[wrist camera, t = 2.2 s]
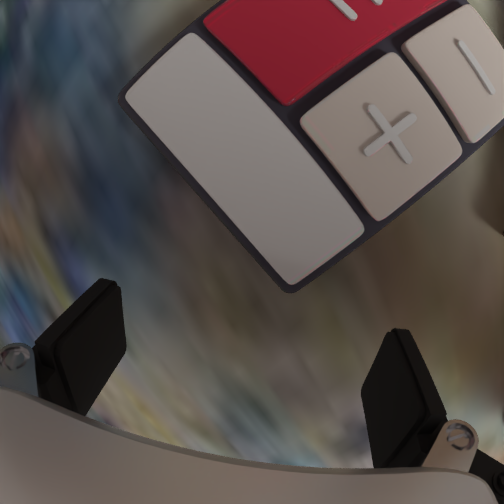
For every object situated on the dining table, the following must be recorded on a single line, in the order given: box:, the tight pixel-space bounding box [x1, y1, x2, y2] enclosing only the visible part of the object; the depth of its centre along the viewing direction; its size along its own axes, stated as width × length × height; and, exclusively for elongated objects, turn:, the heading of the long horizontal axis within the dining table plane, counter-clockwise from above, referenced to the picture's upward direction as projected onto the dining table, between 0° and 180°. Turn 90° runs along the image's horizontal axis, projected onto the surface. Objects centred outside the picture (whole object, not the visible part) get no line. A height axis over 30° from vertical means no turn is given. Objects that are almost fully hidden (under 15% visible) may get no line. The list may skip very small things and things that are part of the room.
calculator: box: [118, 0, 504, 293], centre depth 11 cm, size 11×4×15 cm
